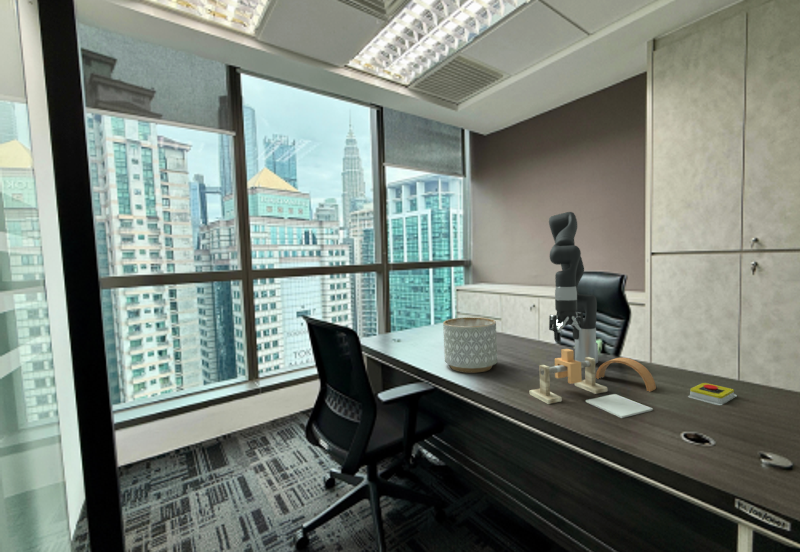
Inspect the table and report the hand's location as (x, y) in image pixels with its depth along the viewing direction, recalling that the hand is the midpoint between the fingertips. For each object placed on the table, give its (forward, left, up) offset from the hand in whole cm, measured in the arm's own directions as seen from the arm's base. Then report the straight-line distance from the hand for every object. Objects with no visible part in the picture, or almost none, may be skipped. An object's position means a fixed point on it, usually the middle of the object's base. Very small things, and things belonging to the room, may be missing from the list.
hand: (566, 340), depth 133 cm
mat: (-6, +16, -20) cm, 27 cm away
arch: (-27, +2, -21) cm, 34 cm away
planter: (+16, -46, -21) cm, 53 cm away
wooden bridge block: (0, 0, -15) cm, 15 cm away
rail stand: (0, 0, -20) cm, 20 cm away
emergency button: (-42, +24, -21) cm, 53 cm away
